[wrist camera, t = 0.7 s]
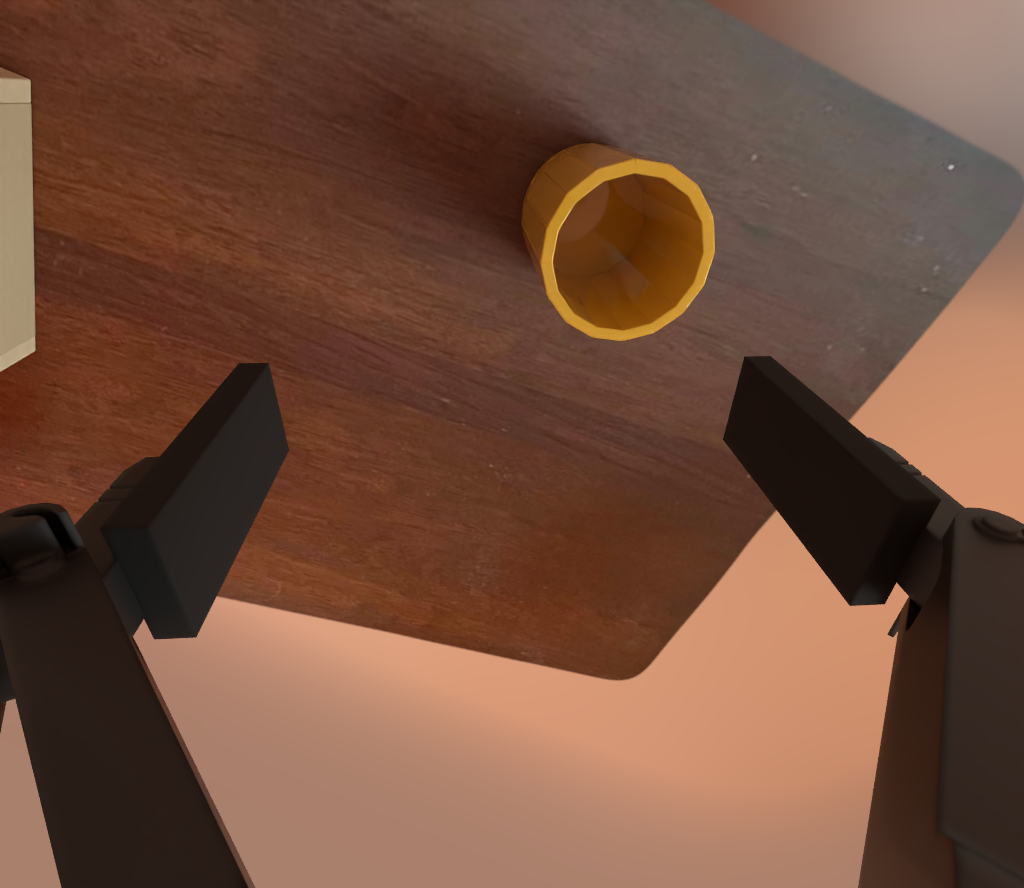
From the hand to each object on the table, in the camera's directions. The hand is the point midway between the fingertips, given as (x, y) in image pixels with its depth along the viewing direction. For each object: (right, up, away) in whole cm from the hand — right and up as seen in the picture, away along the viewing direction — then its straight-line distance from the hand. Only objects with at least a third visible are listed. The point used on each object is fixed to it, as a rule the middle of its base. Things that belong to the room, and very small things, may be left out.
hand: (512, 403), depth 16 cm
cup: (+4, +11, +14) cm, 18 cm away
